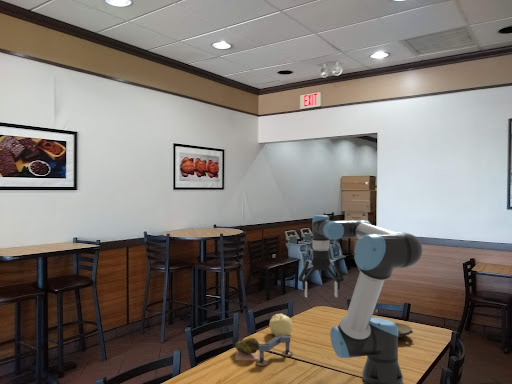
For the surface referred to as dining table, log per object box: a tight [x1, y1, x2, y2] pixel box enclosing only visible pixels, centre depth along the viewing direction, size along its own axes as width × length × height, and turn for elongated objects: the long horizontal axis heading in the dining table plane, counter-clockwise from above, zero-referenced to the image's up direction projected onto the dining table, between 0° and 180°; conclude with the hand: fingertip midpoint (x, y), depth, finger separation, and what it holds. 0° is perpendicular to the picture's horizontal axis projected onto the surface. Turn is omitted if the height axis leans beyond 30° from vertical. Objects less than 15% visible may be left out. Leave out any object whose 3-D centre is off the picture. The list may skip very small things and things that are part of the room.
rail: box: [255, 335, 294, 367], centre depth 183 cm, size 7×21×8 cm, turn 133°
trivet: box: [234, 349, 259, 361], centre depth 186 cm, size 10×10×1 cm
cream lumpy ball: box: [268, 313, 293, 337], centre depth 215 cm, size 12×12×11 cm
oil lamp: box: [394, 322, 414, 338], centre depth 214 cm, size 22×30×8 cm
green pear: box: [234, 337, 260, 354], centre depth 187 cm, size 8×13×8 cm, turn 24°
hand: (321, 296), depth 186 cm, fingers open, 13 cm apart
